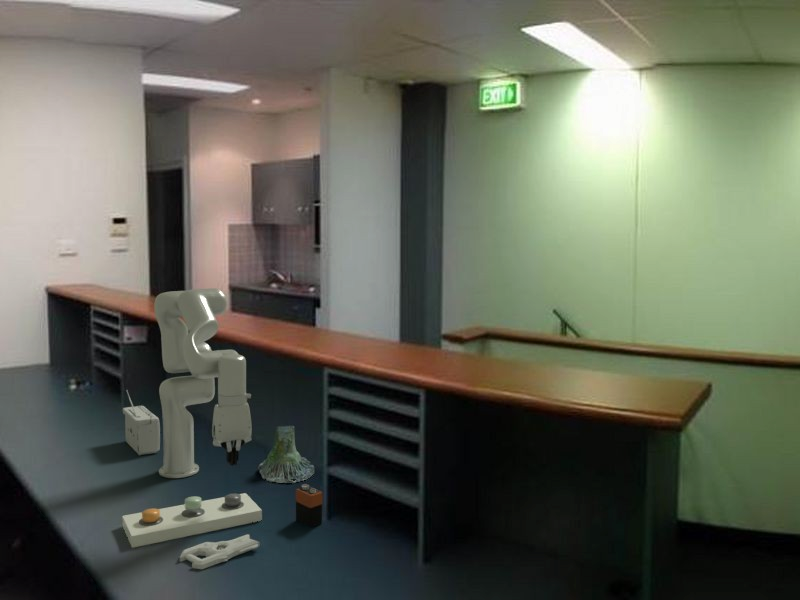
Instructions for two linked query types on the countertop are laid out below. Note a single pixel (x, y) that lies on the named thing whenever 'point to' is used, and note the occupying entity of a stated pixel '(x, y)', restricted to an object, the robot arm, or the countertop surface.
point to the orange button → (150, 515)
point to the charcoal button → (232, 500)
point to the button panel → (190, 520)
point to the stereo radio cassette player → (142, 429)
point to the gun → (217, 551)
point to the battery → (308, 506)
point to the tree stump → (285, 460)
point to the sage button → (193, 503)
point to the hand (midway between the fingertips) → (232, 463)
